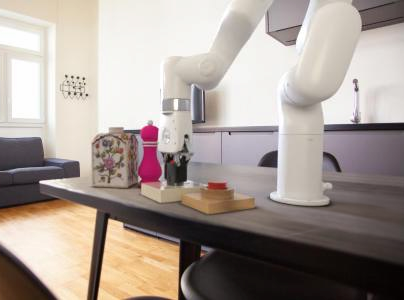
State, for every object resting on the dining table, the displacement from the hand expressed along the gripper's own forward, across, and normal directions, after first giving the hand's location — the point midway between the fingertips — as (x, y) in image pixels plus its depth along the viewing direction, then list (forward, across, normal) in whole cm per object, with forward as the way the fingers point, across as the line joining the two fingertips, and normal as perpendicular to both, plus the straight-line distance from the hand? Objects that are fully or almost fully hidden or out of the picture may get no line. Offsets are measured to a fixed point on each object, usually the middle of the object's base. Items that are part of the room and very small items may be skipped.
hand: (175, 179), depth 74 cm
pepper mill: (+4, -15, 0) cm, 16 cm away
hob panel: (+4, 0, 0) cm, 4 cm away
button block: (+4, +13, +3) cm, 14 cm away
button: (+1, +13, +3) cm, 13 cm away
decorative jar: (+4, -23, -8) cm, 25 cm away
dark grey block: (+1, 0, 0) cm, 1 cm away
